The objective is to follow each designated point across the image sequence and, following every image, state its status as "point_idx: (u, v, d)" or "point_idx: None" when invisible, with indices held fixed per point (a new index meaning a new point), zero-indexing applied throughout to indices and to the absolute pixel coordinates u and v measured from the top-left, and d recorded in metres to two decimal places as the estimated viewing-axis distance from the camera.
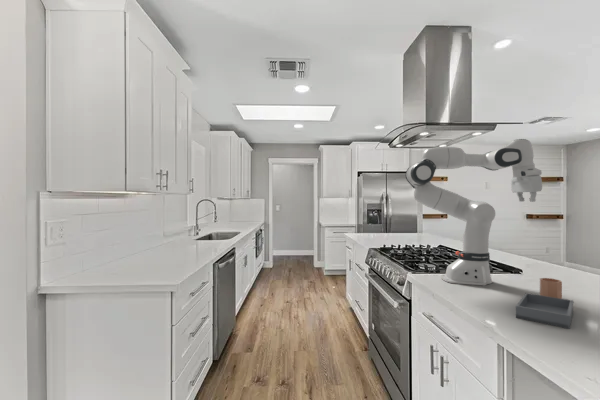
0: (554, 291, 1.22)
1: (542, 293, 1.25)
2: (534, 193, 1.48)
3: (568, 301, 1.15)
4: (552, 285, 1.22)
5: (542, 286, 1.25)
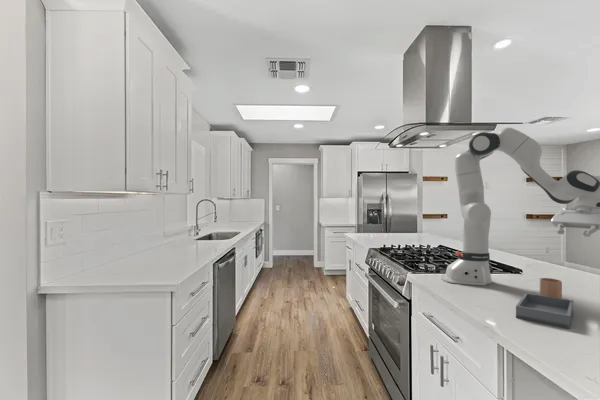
0: (554, 291, 1.22)
1: (542, 293, 1.25)
2: (596, 229, 1.24)
3: (568, 301, 1.15)
4: (552, 285, 1.22)
5: (542, 286, 1.25)
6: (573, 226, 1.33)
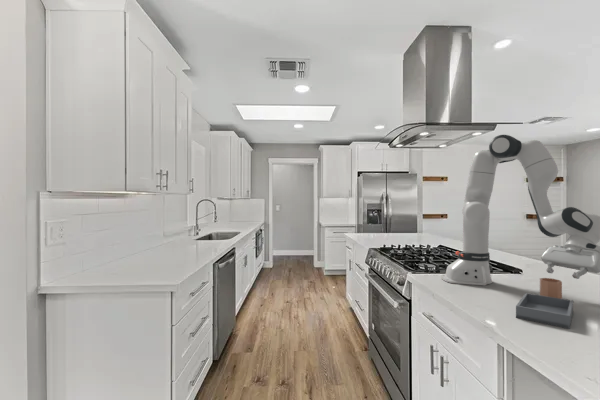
0: (554, 291, 1.22)
1: (542, 293, 1.25)
2: (585, 271, 1.22)
3: (568, 301, 1.15)
4: (552, 285, 1.22)
5: (542, 286, 1.25)
6: (563, 265, 1.31)
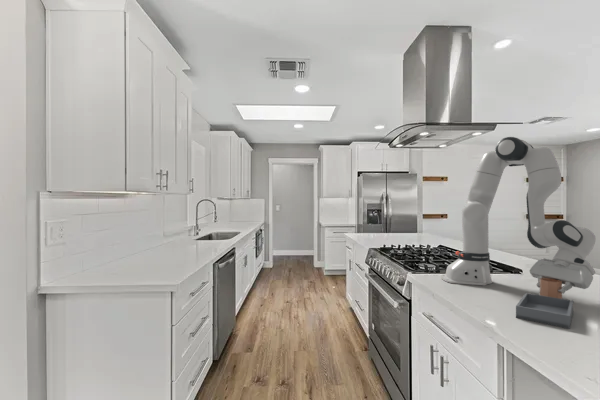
0: (554, 291, 1.22)
1: (542, 293, 1.25)
2: (570, 286, 1.21)
3: (568, 301, 1.15)
4: (552, 285, 1.22)
5: (542, 286, 1.25)
6: None
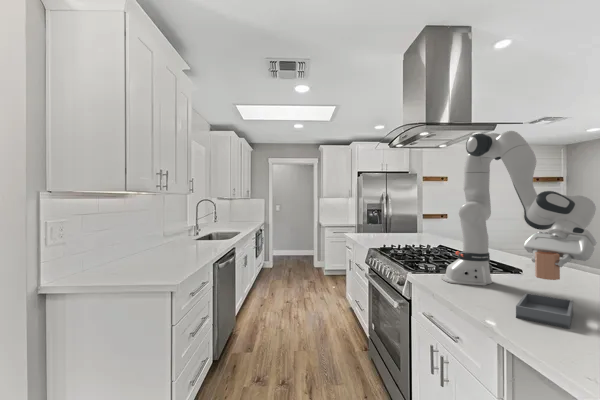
0: (551, 265, 1.09)
1: (538, 268, 1.12)
2: (569, 258, 1.07)
3: (568, 301, 1.15)
4: (549, 258, 1.09)
5: (538, 260, 1.12)
6: None
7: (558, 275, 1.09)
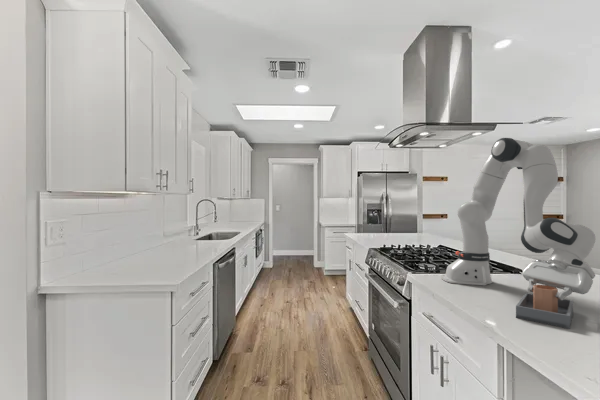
0: (549, 300, 1.09)
1: (536, 302, 1.12)
2: (570, 291, 1.06)
3: (568, 301, 1.15)
4: (547, 293, 1.09)
5: (536, 294, 1.12)
6: (546, 283, 1.15)
7: (556, 310, 1.09)
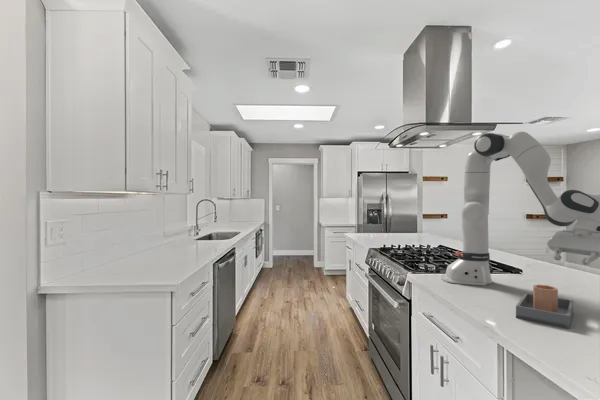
0: (549, 300, 1.09)
1: (536, 302, 1.12)
2: (596, 256, 1.11)
3: (568, 301, 1.15)
4: (547, 293, 1.09)
5: (536, 294, 1.12)
6: (571, 251, 1.20)
7: (556, 310, 1.09)
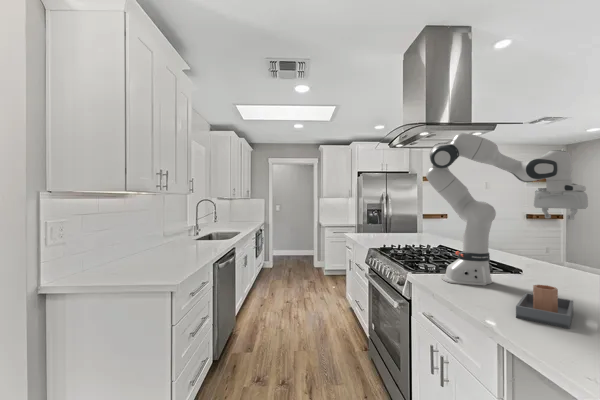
0: (549, 300, 1.09)
1: (536, 302, 1.12)
2: (576, 210, 1.36)
3: (568, 301, 1.15)
4: (547, 293, 1.09)
5: (536, 294, 1.12)
6: None
7: (556, 310, 1.09)
